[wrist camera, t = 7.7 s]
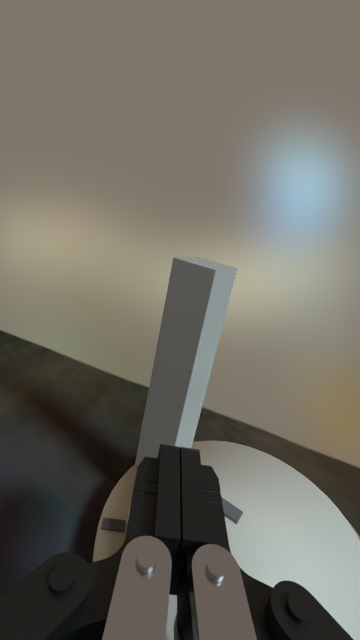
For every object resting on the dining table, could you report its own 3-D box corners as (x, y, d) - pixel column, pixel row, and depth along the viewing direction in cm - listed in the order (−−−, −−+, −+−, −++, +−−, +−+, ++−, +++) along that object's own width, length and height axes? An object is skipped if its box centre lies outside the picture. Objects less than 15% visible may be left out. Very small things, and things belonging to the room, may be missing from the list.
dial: (60, 540, 16) (87, 258, 11) (194, 425, 26) (236, 257, 22) (359, 862, 9) (738, 489, 4) (376, 533, 20) (492, 324, 15)
